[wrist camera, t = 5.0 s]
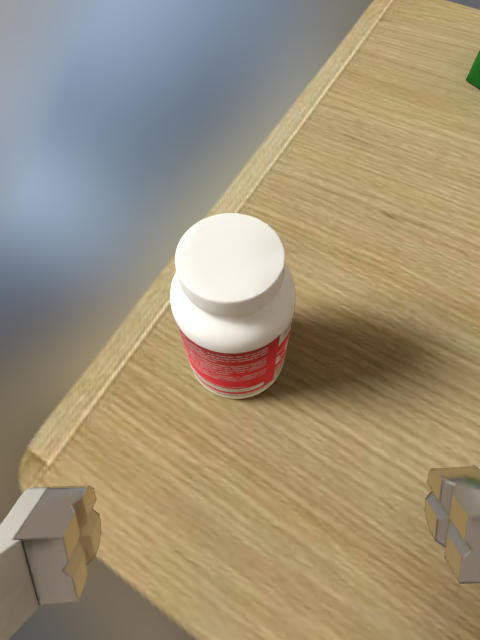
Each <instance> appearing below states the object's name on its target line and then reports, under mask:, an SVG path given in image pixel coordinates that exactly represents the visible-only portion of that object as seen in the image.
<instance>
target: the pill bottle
mask: <svg viewBox="0 0 480 640" xmlns="http://www.w3.org/2000/svg"><path fill="white" fill-rule="evenodd" d="M285 259H286V257H285V249H284V246H283V243H282V241H281V239H280V237H279V236H278V234H277V233H276V232H275V231H274V230H273V229H272V228H271V227H270V226H269V225H268V224H266V223H265V222H263V221H261V220H259V219H257V218H255V217H252V216H249V215H245V214H238V213H224V214H218V215H214V216H210V217H207V218H205V219H203V220H201V221H199V222H197V223H196V224H195V225H193V226H192V227H191V228H190V229H188V231H187V232H186V233H185V234H184V235H183V237H182V238H181V240H180V242H179V244H178V246H177V249H176V254H175V266H176V273H175V275H174V278H173V281H172V284H171V291H170V303H171V309H172V313H173V317H174V320H175V322H176V325H177V328H178V331H179V333H180V336H181V339H182V342H183V345H184V348H185V351H186V354H187V357H188V360H189V363H190V366H191V368H192V370H193V372H194V374H195V376H196V378H197V379H198V381H199V382H200V383H201V384H202V385H203V386H204V387H205V388H206V389H208V390H209V391H211V392H212V393H214V394H216V395H219V396H222V397H225V398H231V399H242V398H248V397H252V396H255V395H257V394H259V393H261V392H263V391H264V390H266V389H267V388H268V387H270V386H271V385H272V384H273V383H274V381H275V380H276V379H277V377H278V376H279V374H280V372H281V370H282V367H283V364H284V361H285V355H286V351H287V346H288V341H289V336H290V330H291V325H292V320H293V314H294V309H295V300H296V292H295V284H294V280H293V277H292V275H291V272H290V271H289V269H288V267H287V265H286V264H285Z"/></svg>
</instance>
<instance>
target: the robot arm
mask: <svg viewBox="0 0 480 640" xmlns="http://www.w3.org/2000/svg"><path fill="white" fill-rule="evenodd" d="M427 483H428V485H429V486H430V488H431V490H432V491H431V493H430V494H429V495H428V496H427V497H426V499H425V514H426V520H427V524H428V527H429V529H430V532H431V534H432V536H433V537H434V539H435V541H437V542H438V543H439V544H441V545H442V546H444V547H445V548H446V549H445V559H446V561H447V562H448V564H449V566H450V568H451V569H452V571H453V573H454V575H455V576H456V578H457V580H458V582H459V583H460V584H462V583H480V465H474V466H468V467H450V468H433V469H430V471H429V473H428V480H427ZM95 502H96V496H95V491H94V488H93V487H91V486H61V487H37V488H29V489H27V490H25V491H24V492H23V494H22V495H21V496H20V498H19V499H18V501H17V502H16V504H15V505H14V506H13V508H12V509H11V511H10V512H9V514H8V515H7V517H6V518H5V520H4V521H3V522H2V524H1V525H0V640H9V639H10V637H11V636H12V635H13V634H14V633H15V632H16V631H17V630H18V629H19V628H20V627H21V626H22V625H23V624H24V623H25V622H26V621H27V620H28V619H29V618H30V617H31V615H32V614H33V613H34V612H35V611H36V610H37V609H38V608H39V605H48V604H61V603H72V602H78V601H79V598H80V596H81V593H82V591H83V588H84V585H85V583H86V580H87V577H88V575H89V574H88V569H87V564H88V563H89V562H90V561H92V560H93V559H94V558H95V556H96V553H97V551H98V548H99V543H100V537H101V521H100V515H99V514H98V513H97V512H96V511H95V510H94V509H93V506H94V504H95Z"/></svg>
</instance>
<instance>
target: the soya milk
mask: <svg viewBox="0 0 480 640" xmlns="http://www.w3.org/2000/svg"><path fill="white" fill-rule="evenodd" d="M466 81H468V82H470V83H471V84H473V85H474V86H476V87H478V88H479V89H480V51H479V53H478V55H477V57H476V59H475V61H474V64H473V66H472V68H471V70H470V72H469V74H468V76H467V79H466Z"/></svg>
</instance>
